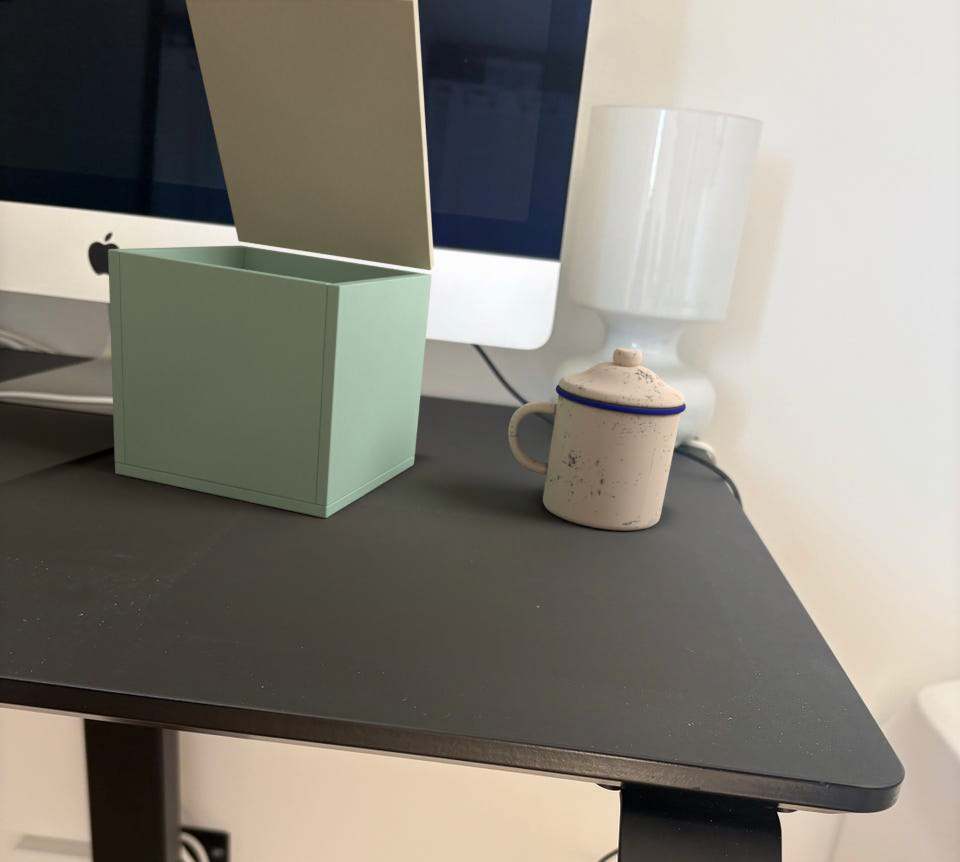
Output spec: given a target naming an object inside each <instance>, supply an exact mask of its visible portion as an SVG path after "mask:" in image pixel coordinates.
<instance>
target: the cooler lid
mask: <svg viewBox="0 0 960 862" xmlns="http://www.w3.org/2000/svg"><path fill="white" fill-rule="evenodd" d="M185 4H186V8H187V13H188V19H189V22H190V27H191V32H192V36H193V41H194V46H195V49H196V54H197V58H198V63H199V67H200V72H201V76H202V81H203V85H204V90H205V95H206V99H207V104H208V109H209V113H210V118H211V122H212V127H213V131H214V136H215V140H216V145H217V150H218V153H219V159H220V164H221V169H222V173H223V177H224V181H225V185H226V190H227V191H226V192H227V195H228V199H229V204H230V209H231V214H232V218H233V222H234V223H233V224H234V227H235V232H236V237H237V241H238V242H241V243H247V244H254V245H261V246H267V247H274V248H280V249H287V250H294V251H300V252H306V253H312V254H313V253H314V254H320V255H325V256H326V255H327V256H333V257H339V258H346V259H351V260H352V259H353V260H359V261H366V262H373V263H379V264H386V265H391V266H392V265H393V266H398V267H405V268H411V269H419V270H425V271H431V270H432V269H433V268H434V266H435V257H434V256H435V255H434V242H433V241H434V240H433V239H434V238H433V225H432V224H433V223H432V211H431V210H432V208H431V192H430V191H431V190H430V178H429V177H430V176H429V161H428V145H427V130H426V129H427V128H426V113H425V111H426V110H425V97H424V95H425V94H424V82H423V81H424V80H423V66H422V65H423V63H422V49H421V47H422V46H421V33H420V19H419V18H420V16H419V15H420V14H419V1H418V0H185Z"/></svg>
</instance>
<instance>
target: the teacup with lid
mask: <svg viewBox="0 0 960 862" xmlns="http://www.w3.org/2000/svg"><path fill="white" fill-rule="evenodd" d="M642 361H643V353H642V352H641V350H638V349H635V348H629V347H628V348H627V347H617V348H615V349H614V351H613V353H612V361H605V362H600V363H598V364H595V365H593V366H591V367H589V368H587V369H585V370H582V371H580V372H579V371H578V372H572V373H568V374H565V375H563V376H562V377H561V378H560V379H559V380H558V384H557V385H556V386H555V392H556V394H557V401H556V403H554V402H547V401H538V400H537V401H531V402H527V403H525V404H523V405H521V406H520V407H519V408H517V409H516V410H515V411H514V413H513V414H512V416H511V417H510V421H509V425H508V431H507V433H508V442H509V447H510V449H511V452H512V454H513V456H514V457H515V459H516V460H517V462H518V463H519V464H520V465H521V466H522V467H524V468H525V469H527V470H529V471H531V472H534V473H538V474H541V475H545V481H544V487H543V494H542V495H543V496H542V502H543V505H544V508H545V509H546V510H548V511H549V512H550V513H551V514H553V515H554V516H556V517H559V518H560V519H562V520H565V521H567V522H570V523H574V524H577V525H581V526H585V527H589V528H594V529H601V530H607V531H626V532H627V531H639V530H644V529H648V528H650V527H654V526H655V525H656V524H658V523H659V521H660V519H661V515H662V510H663V505H664V500H665V495H666V490H667V485H668V480H669V475H670V470H671V467H672V460H673V455H674V451H675V447H676V441H677V436H678V431H679V426H680V421H681V415H682V413H683V412H685V411H686V408H687V405H686V403H685V402H686V398H685V396H684V394H683V393H682V392H681V391H680V390H679V389H677V388H675V387H674V386H673V387H672V386H670V385H668V384H667V383H665V382H664V381H663V380H662V379H661V378H660V377H659V376H658V375H657V374H656V373H655V372H654V371H653V370H652V369H650V368H648V367H645V366H642V365H641V364H642ZM535 413H541V414H547V415H553V416H554V422H553V428H552V435H551V441H550V448H549V455H548V461H547V462H545V461H544V462H543V461H539V460H537V459H534V458H532V457H531V456H529V455H528V454H527V453H526V452H525V450H524V449H523V447H522V445H521V442H520V441H521V440H520V437H519V425H520V422H521V420H523V419H524V418H525V417H526V416H529V415H530V414H535Z"/></svg>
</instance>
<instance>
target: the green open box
mask: <svg viewBox="0 0 960 862" xmlns="http://www.w3.org/2000/svg"><path fill="white" fill-rule="evenodd" d="M107 257H108V258H107V259H108V260H107V261H108V289H109V294H108V295H109V323H110V324H109V325H110V352H111V353H110V355H111V358H110V359H111V385H112V386H111V387H112V417H113V418H112V419H113V421H112V422H113V448H114V449H113V451H114V472H115V474H117V475H121V476H125V477H130V478H135V479H139V480H145V481H148V482H153V483H158V484H163V485H168V486H173V487H177V488H182V489H187V490H192V491H195V492H201V493H204V494H205V493H206V494H211V495H215V496H220V497H224V498H229V499H233V500H237V501H242V502H246V503H247V502H248V503H253V504H258V505H261V506H267V507H272V508H275V509H281V510H284V511H285V510H286V511H291V512H294V513H299V514H303V515H309V516H313V517H314V516H315V517H318V518H322V519H327V518H329V517H330V516H332V515H334V514H335V513H337V512H339V511H340V510H342V509H344V508H345V507H347V506H349V505H350V504H352V503H354V502H355V501H357V500H359V499H360V498H362V497H364V496H365V495H366V494H368V493H370V492H371V491H373V490H375V489H377V488H378V487H380V486H381V485H383V484H385V483H386V482H388V481H389V480H391V479H393V478H394V477H396V476H398V475H399V474H401V473H402V472H404V471H407V470H408V469H409V468H411V467H413V466H414V465H415V454H416V447H417V446H416V445H417V435H418V434H417V433H418V427H419V426H418V424H419V416H420V415H419V413H420V405H421V403H420V402H421V395H422V394H421V392H422V383H423V373H424V372H423V370H424V361H425V351H426V350H425V349H426V341H427V340H426V339H427V329H428V318H429V308H430V299H431V297H430V296H431V287H432V274H430V273H425V272H422V273H421V272H417V271H410V270H406V269H405V270H403V269H398V268H392V267H391V268H390V267H386V266H385V267H384V266H378V265H372V264H371V265H370V264H366V263H358V262H352V261H346V260H338V259H333V258H332V259H331V258H325V257H319V256H312V255H307V254H299V253H293V252H285V251H280V250H279V251H278V250H273V249H266V248H259V247H253V246H247V245H213V246H212V245H209V246H208V245H207V246H180V247H175V246H174V247H143V248H142V247H141V248H139V247H137V248H135V247H134V248H109V249H108V250H107Z"/></svg>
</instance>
